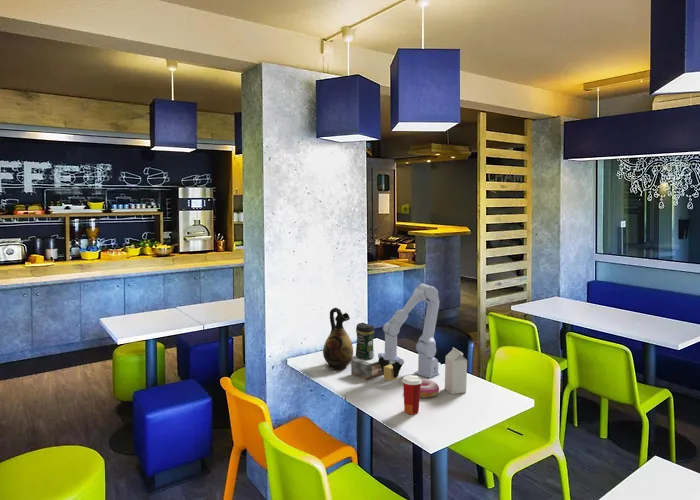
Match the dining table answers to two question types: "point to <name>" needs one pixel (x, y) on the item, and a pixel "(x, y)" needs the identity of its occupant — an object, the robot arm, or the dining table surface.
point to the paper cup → (411, 394)
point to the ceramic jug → (338, 343)
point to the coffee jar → (364, 341)
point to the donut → (428, 388)
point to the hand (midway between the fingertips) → (390, 375)
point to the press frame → (365, 369)
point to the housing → (389, 373)
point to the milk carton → (455, 372)
